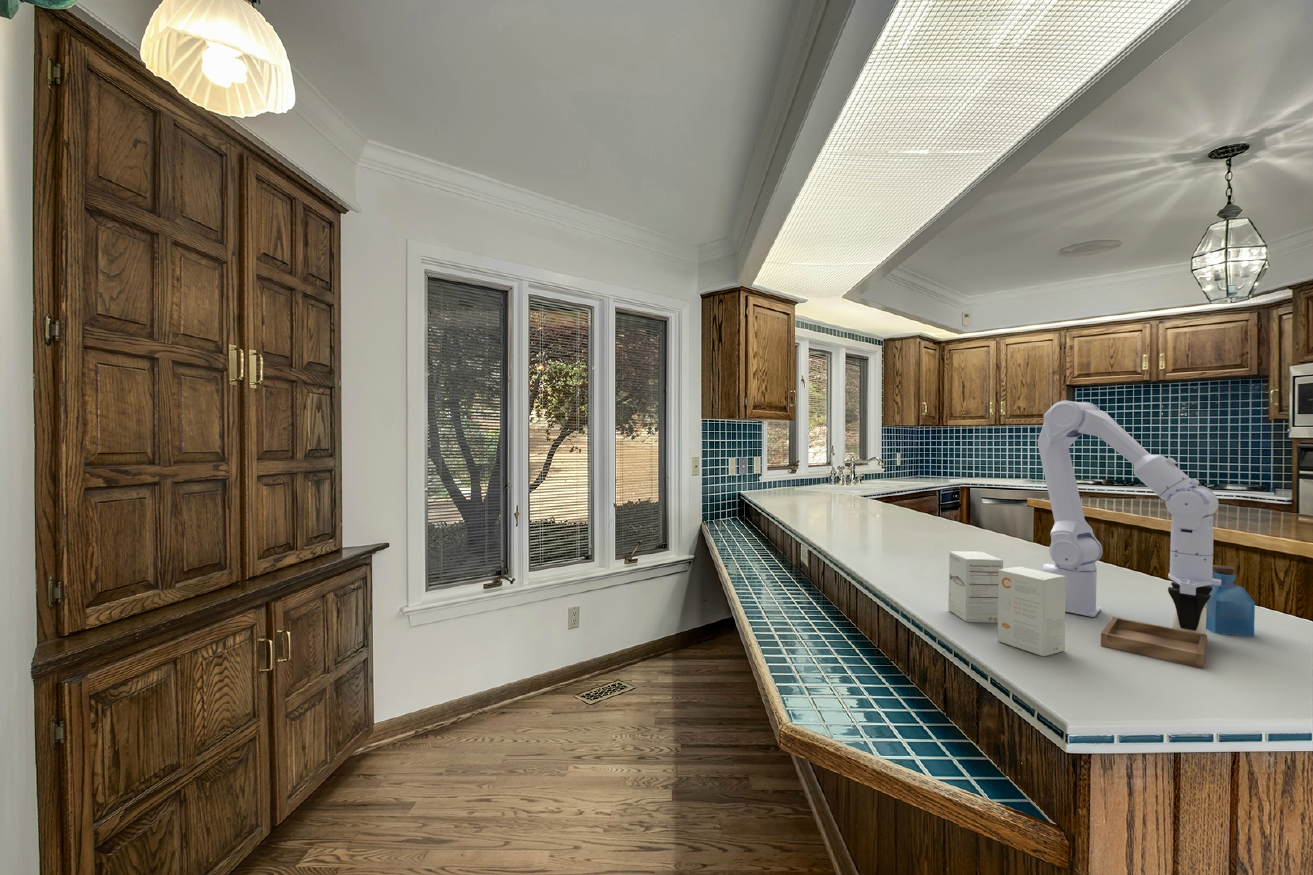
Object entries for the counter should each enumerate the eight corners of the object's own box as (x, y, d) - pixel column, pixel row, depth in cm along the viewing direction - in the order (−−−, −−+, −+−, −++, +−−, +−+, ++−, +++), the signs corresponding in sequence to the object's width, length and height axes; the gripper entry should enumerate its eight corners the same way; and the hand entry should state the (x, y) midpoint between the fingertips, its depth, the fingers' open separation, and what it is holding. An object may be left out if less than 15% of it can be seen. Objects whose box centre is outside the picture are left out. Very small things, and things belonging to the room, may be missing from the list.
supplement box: (947, 610, 119) (948, 550, 119) (983, 611, 119) (984, 551, 119) (964, 622, 112) (966, 558, 112) (1003, 623, 112) (1004, 559, 111)
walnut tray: (1100, 645, 100) (1101, 633, 100) (1112, 628, 109) (1113, 616, 109) (1202, 668, 91) (1203, 654, 91) (1206, 647, 100) (1207, 634, 100)
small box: (1065, 651, 98) (1067, 575, 97) (1043, 657, 95) (1044, 579, 95) (1018, 635, 105) (1019, 565, 105) (996, 641, 102) (997, 568, 102)
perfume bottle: (1254, 635, 106) (1255, 571, 106) (1214, 633, 107) (1216, 569, 107) (1228, 624, 112) (1229, 563, 112) (1191, 622, 113) (1192, 562, 113)
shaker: (1171, 636, 105) (1172, 598, 105) (1174, 630, 108) (1174, 593, 108) (1205, 642, 102) (1206, 603, 102) (1206, 636, 105) (1207, 598, 105)
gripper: (1220, 562, 97) (1218, 641, 97) (1223, 550, 107) (1221, 622, 107) (1165, 555, 102) (1163, 630, 102) (1172, 544, 112) (1170, 613, 112)
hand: (1189, 625), depth 105 cm, fingers closed on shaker, 4 cm apart
